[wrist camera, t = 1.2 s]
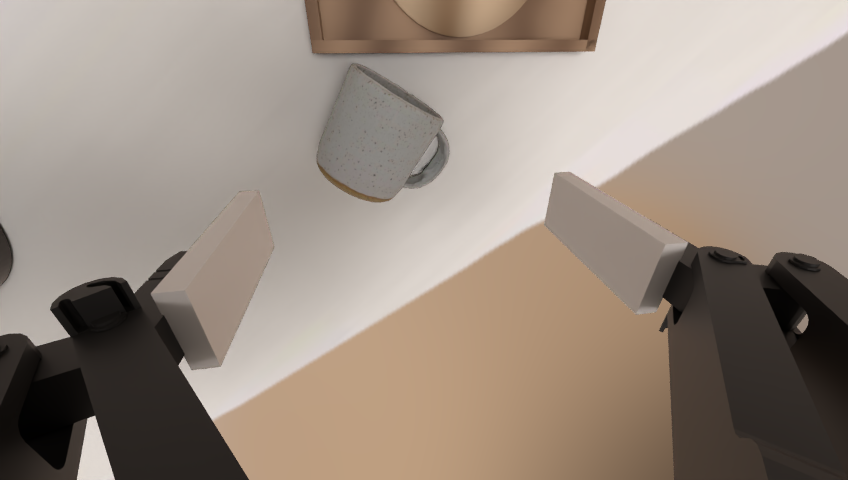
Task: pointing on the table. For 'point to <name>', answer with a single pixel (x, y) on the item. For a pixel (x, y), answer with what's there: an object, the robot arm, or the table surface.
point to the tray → (453, 25)
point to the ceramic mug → (379, 138)
